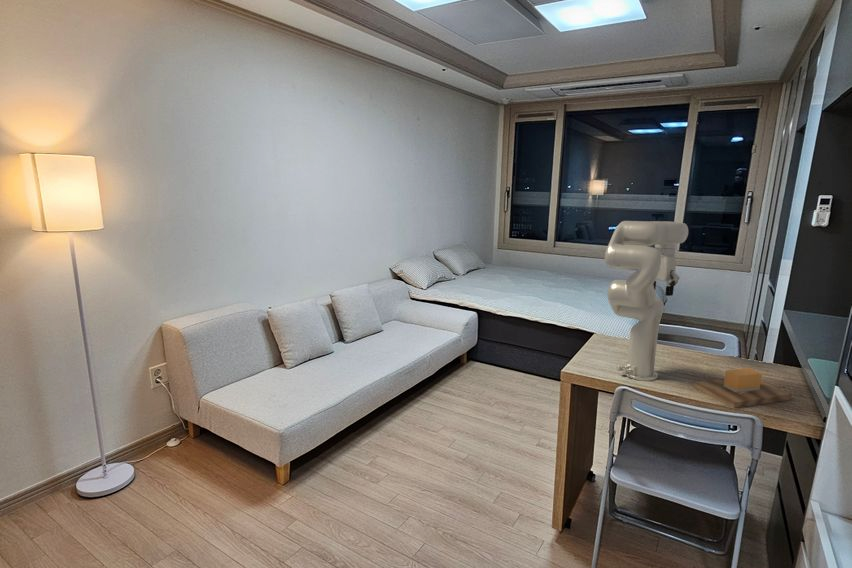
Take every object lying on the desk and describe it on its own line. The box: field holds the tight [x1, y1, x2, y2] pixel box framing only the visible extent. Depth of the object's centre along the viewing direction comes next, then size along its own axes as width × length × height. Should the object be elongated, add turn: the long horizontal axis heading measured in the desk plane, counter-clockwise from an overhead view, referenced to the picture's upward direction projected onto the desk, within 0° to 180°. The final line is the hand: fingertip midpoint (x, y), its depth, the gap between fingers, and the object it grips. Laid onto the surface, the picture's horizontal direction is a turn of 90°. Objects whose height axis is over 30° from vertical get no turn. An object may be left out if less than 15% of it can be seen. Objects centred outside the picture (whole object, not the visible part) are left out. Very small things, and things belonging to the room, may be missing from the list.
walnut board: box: [693, 378, 793, 409], centre depth 156 cm, size 24×16×2 cm, turn 104°
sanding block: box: [724, 367, 763, 393], centre depth 155 cm, size 10×5×6 cm, turn 104°
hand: (660, 292), depth 184 cm, fingers open, 9 cm apart
